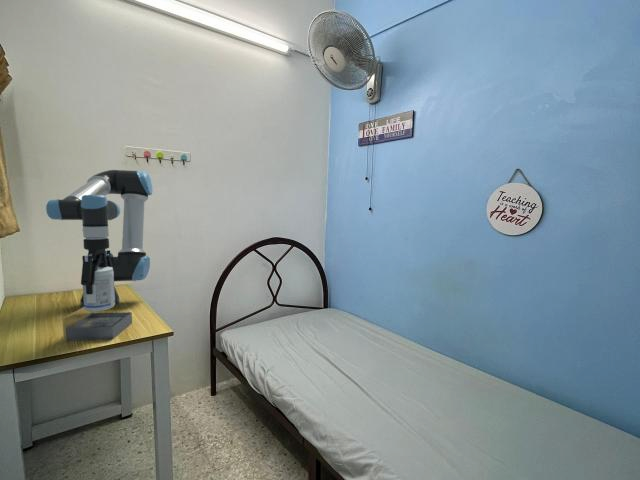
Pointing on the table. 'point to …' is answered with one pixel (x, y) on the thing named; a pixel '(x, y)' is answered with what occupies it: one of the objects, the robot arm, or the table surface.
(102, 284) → the supplement tub
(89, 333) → the gray square tray
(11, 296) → the table surface
